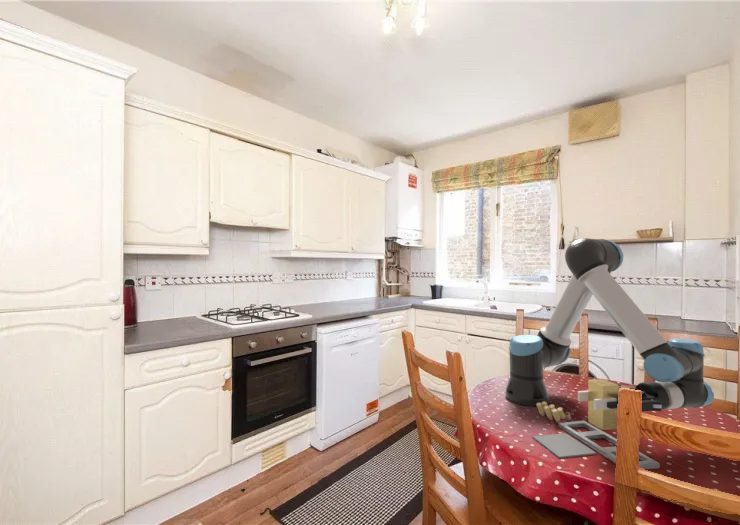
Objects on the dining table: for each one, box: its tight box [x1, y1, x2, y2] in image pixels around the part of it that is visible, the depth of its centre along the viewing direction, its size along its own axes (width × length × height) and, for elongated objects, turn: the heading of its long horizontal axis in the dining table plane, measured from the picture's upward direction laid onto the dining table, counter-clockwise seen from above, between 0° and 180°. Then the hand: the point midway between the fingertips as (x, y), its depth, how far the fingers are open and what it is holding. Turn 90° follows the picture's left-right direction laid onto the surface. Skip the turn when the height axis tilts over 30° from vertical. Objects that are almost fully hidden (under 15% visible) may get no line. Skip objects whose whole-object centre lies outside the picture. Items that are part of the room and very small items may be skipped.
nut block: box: [587, 378, 620, 431], centre depth 95 cm, size 5×5×12 cm
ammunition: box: [536, 401, 572, 424], centre depth 112 cm, size 5×7×8 cm
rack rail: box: [557, 420, 660, 470], centre depth 95 cm, size 24×9×1 cm, turn 9°
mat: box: [532, 432, 597, 459], centre depth 95 cm, size 11×11×1 cm
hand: (586, 400), depth 94 cm, fingers closed on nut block, 5 cm apart
